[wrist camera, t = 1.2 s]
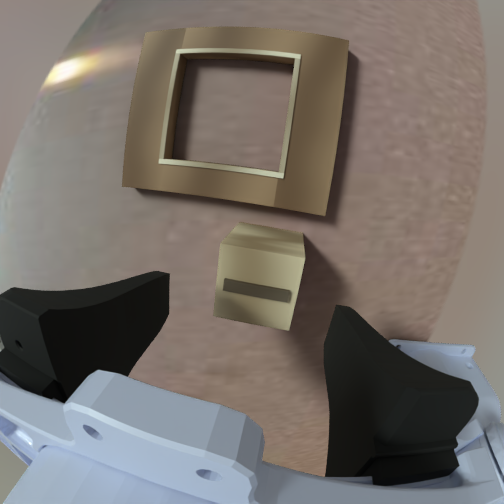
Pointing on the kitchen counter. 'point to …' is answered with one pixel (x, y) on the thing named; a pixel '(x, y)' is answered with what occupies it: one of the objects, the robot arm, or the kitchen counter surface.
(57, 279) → the kitchen counter surface
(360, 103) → the kitchen counter surface
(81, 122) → the kitchen counter surface
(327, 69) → the plate
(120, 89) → the kitchen counter surface
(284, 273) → the beige block with stripe
